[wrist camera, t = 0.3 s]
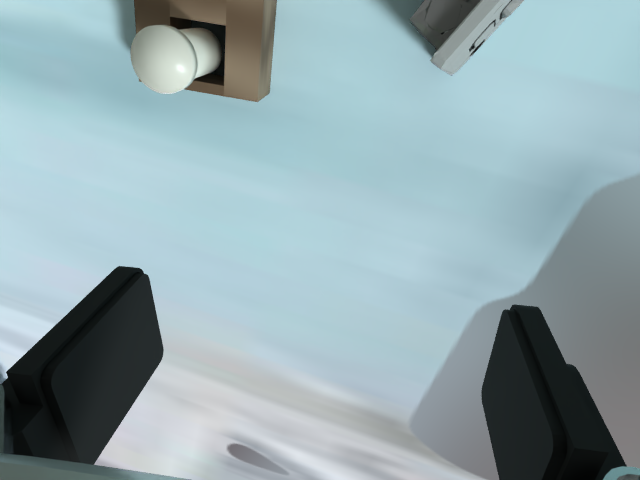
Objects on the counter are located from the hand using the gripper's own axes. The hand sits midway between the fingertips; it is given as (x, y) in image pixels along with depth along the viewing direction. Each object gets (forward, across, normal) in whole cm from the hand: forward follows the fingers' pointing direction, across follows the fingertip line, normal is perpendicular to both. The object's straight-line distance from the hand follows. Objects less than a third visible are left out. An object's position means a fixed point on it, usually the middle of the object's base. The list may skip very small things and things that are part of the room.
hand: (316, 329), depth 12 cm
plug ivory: (+27, +14, -4) cm, 31 cm away
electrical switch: (+31, -7, -8) cm, 32 cm away
